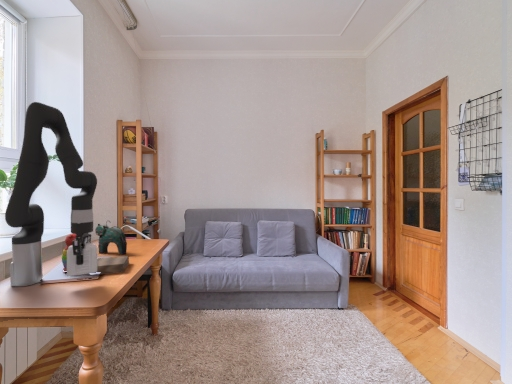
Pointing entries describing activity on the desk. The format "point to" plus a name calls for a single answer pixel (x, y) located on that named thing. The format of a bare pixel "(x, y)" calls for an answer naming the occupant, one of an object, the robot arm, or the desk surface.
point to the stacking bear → (68, 243)
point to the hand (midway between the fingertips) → (82, 262)
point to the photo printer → (88, 261)
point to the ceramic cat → (111, 238)
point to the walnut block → (112, 264)
